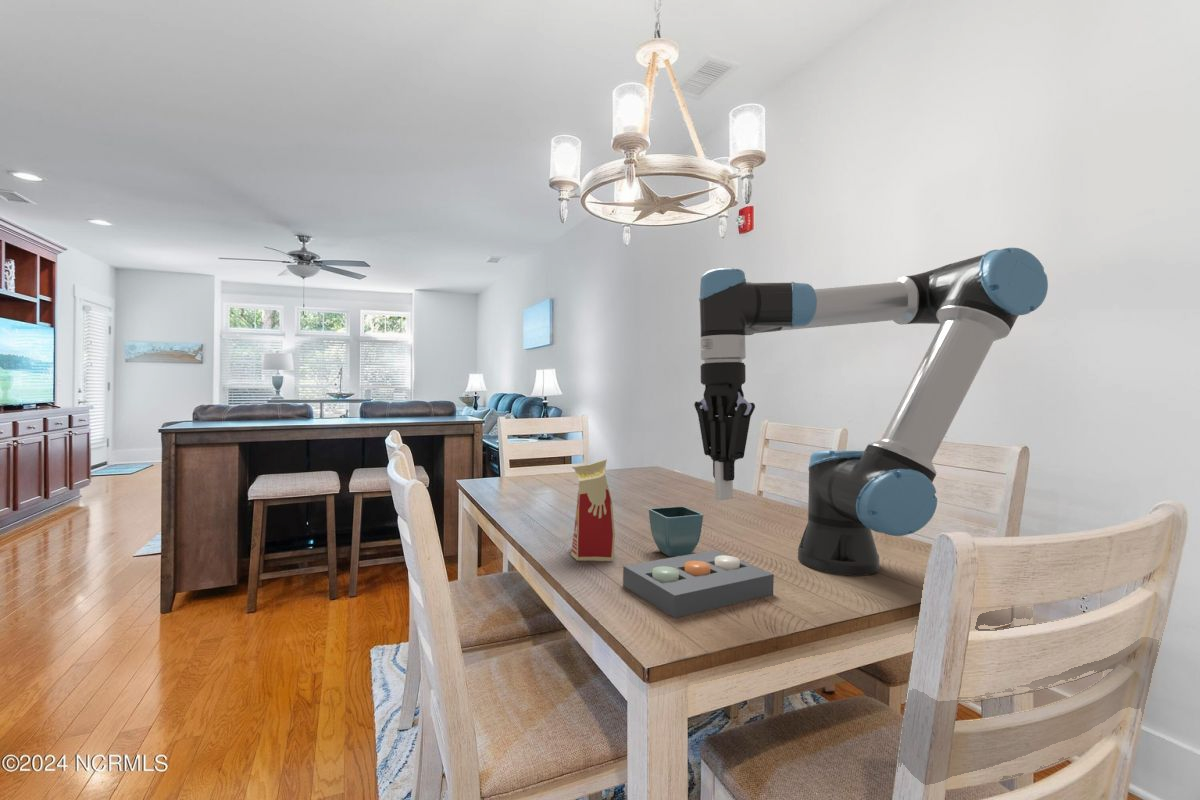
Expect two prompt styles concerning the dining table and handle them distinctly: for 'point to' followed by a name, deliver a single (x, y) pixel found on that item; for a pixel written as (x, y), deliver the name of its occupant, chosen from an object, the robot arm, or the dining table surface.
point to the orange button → (697, 568)
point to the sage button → (665, 574)
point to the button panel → (697, 584)
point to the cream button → (727, 562)
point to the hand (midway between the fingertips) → (723, 498)
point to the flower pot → (675, 529)
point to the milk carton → (593, 515)
